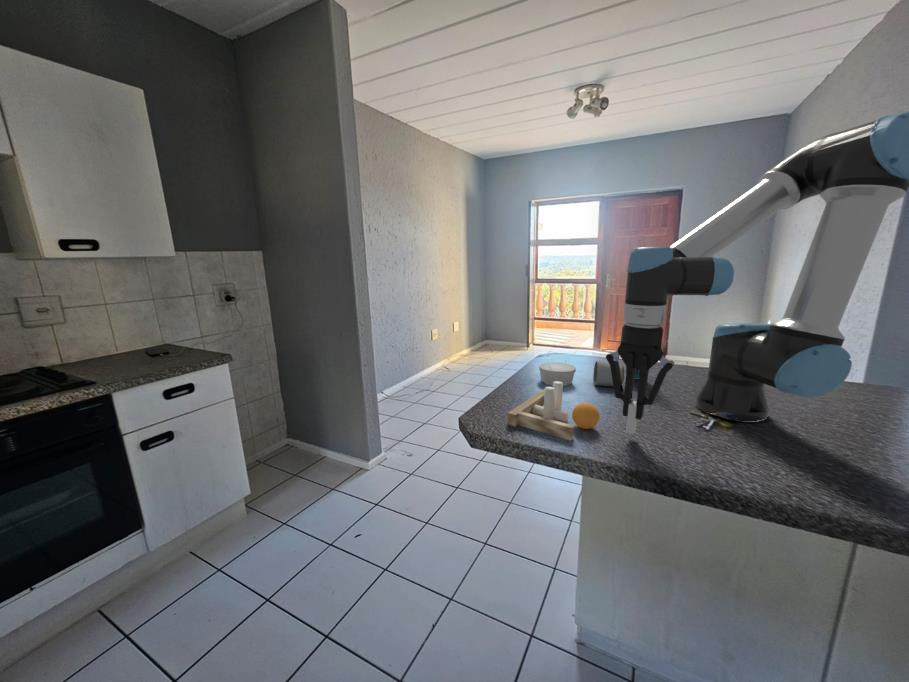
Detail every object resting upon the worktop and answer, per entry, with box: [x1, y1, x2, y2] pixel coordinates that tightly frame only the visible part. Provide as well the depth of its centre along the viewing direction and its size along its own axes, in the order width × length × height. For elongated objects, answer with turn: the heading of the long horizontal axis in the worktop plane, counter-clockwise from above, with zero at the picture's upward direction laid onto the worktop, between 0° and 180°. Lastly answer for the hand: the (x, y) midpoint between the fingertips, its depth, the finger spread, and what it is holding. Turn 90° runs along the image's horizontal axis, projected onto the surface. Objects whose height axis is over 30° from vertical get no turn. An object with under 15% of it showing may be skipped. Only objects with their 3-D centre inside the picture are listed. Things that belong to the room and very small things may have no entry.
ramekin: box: [538, 361, 577, 387], centre depth 118 cm, size 11×11×5 cm
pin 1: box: [542, 386, 555, 420], centre depth 88 cm, size 2×2×8 cm
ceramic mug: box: [592, 360, 626, 387], centre depth 116 cm, size 11×8×8 cm
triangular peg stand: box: [507, 389, 575, 442], centre depth 91 cm, size 15×20×3 cm
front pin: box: [532, 405, 569, 423], centre depth 91 cm, size 2×2×8 cm
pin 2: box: [552, 381, 564, 411], centre depth 92 cm, size 2×2×8 cm
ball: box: [571, 402, 600, 430], centre depth 85 cm, size 6×6×6 cm
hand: (630, 430), depth 80 cm, fingers closed
